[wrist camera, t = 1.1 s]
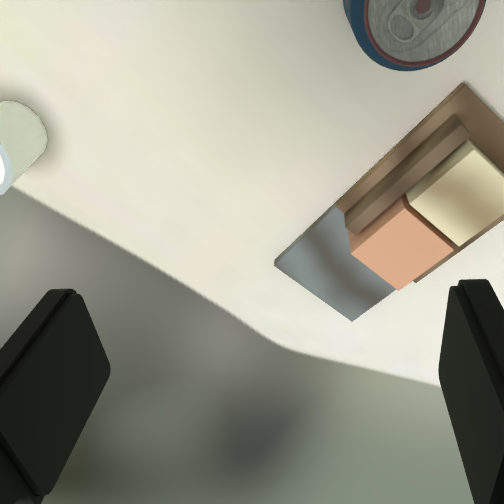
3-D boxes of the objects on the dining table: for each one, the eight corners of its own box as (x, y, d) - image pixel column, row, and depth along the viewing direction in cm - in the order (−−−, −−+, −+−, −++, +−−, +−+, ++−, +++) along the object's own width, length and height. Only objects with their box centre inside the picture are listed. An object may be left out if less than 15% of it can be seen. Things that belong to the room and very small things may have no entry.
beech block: (460, 131, 36) (474, 149, 33) (507, 176, 38) (525, 198, 34) (401, 182, 39) (409, 204, 36) (447, 222, 41) (459, 246, 37)
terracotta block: (397, 186, 39) (404, 208, 36) (443, 225, 41) (454, 250, 38) (348, 229, 42) (350, 253, 39) (392, 265, 44) (398, 290, 41)
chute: (462, 82, 35) (475, 94, 32) (548, 168, 38) (567, 186, 35) (274, 260, 47) (271, 280, 44) (351, 315, 50) (353, 338, 47)
